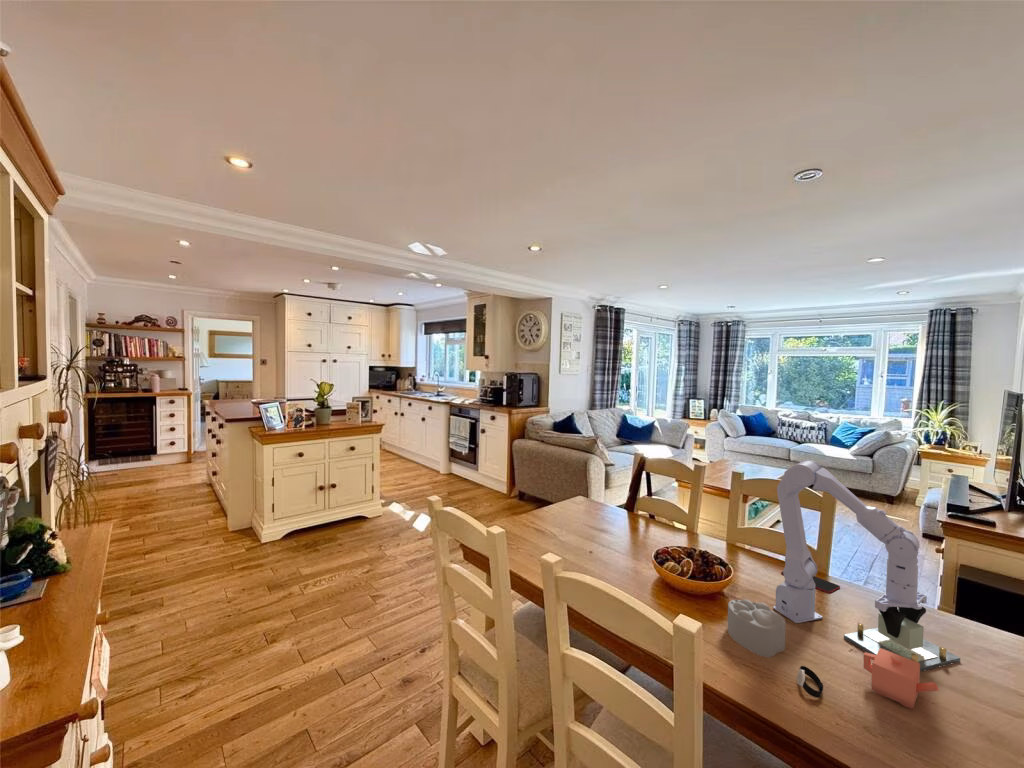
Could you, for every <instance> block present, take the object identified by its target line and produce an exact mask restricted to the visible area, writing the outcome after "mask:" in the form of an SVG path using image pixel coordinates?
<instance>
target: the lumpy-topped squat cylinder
mask: <svg viewBox="0 0 1024 768" xmlns="http://www.w3.org/2000/svg"><path fill="white" fill-rule="evenodd" d="M727 632H728V635H729V634H730V635H729V636H730V638H731V639H732V638H733V639H732V640H733V641H734V642H735V641H736V643H737V644H738V645H740V646H742V647H743V648H745V649H746V650H748V651H750V652H751V653H753V654H756V655H758V656H760V657H764V658H765V657H766V658H772V657H774V656H775V655H777V654H778V653H781V652H783V651H785V649H786V620H785V618H784V617H783V616H782V615H781V614H779V613H778V612H776V611H773V610H772V609H771V608H770V606H769V605H767V604H766V603H764V602H755V601H753V602H752V600H751V601H750V600H749V599H745V598H744V599H732V600H730V601H729V602H728V604H727Z"/></svg>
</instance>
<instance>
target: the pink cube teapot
mask: <svg viewBox="0 0 1024 768" xmlns="http://www.w3.org/2000/svg"><path fill="white" fill-rule="evenodd" d="M872 661H873V662H872ZM863 669H865V670H866V671H867V672H868V673H870V674H871V691H872V692H875V693H876V694H877V695H879V696H881V697H886V698H888V699H890V700H893V701H894V702H895V701H896V702H897V703H899V704H901V705H902V706H903V707H905V708H909V709H912V710H913V709H914V708H915V704H916V702H917V698H918V695H919V693H927V692H939V691H940V690H939V687H938V686H937V684H936V683H935V682H934V681H929V682H921V681H920V679H921V672H920V663H918V662H915V661H912V660H910V659H907V658H905V657H902V656H900V655H897V654H895V653H892V652H889V651H887V650H884V649H882V648H880V649H879V651H878V653H877V655H874V654H870V653H867V652H865V651H864V653H863ZM920 682H921V683H920Z"/></svg>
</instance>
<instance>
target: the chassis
mask: <svg viewBox="0 0 1024 768" xmlns="http://www.w3.org/2000/svg"><path fill="white" fill-rule="evenodd" d="M843 639H845V640H846V641H847V642H849V643H851V644H852V645H854V646H856V648H859V649H861V650H862V651H863V652H864V653H865V652H867V653H870V654H874V655H877V653H878V651H879V649H880V648H882V649H884V650H887V651H889V652H892V653H895V654H897V655H900V656H902V657H905V658H907V659H910V660H912V661H915V662H918V663H920V673H922V672H925V671H924V670H926V671H928V669H930V670H933V669H932V668H934V669H937V668H936V667H938V668H940V667H939V666H942V667H944V666H943V665H946V666H949V665H948V664H950V665H952V664H951V663H954V664H957V663H956V662H958V663H960V662H961V657H959V656H957V655H956V654H954V653H952V652H950V651H949V650H947V648H946V647H943V646H939V645H936V644H934V643H933V642H931V641H929V640H927V639H925V638H923V647H919V648H915V649H910V650H909V649H907V648H905V647H904V646H902V645H900V644H898V643H896V642H895V641H893V640H891V639H889V638H887V637H886V636H884V635H882V634H880V633H879V632H878V626H877V627H873V628H869V629H865V630H864V624H863V623H859V622H858V623H857V630H856V631H854V632H850V633H845V634H843ZM921 671H922V672H921Z"/></svg>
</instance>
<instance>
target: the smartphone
mask: <svg viewBox="0 0 1024 768" xmlns="http://www.w3.org/2000/svg"><path fill="white" fill-rule="evenodd" d="M780 574H781V576H784V574H783V571H781V572H780ZM813 580H814V583H815V590H816V589H817V590H819V591H821V592H823V593H826V594H832V593H834V592H835V591H838V590H839V589H841V587H840V585H838V584H836V583H833V582H830V581H828V580H825V579H823V578H820V577H818V576H816V575H815V576H813Z"/></svg>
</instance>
